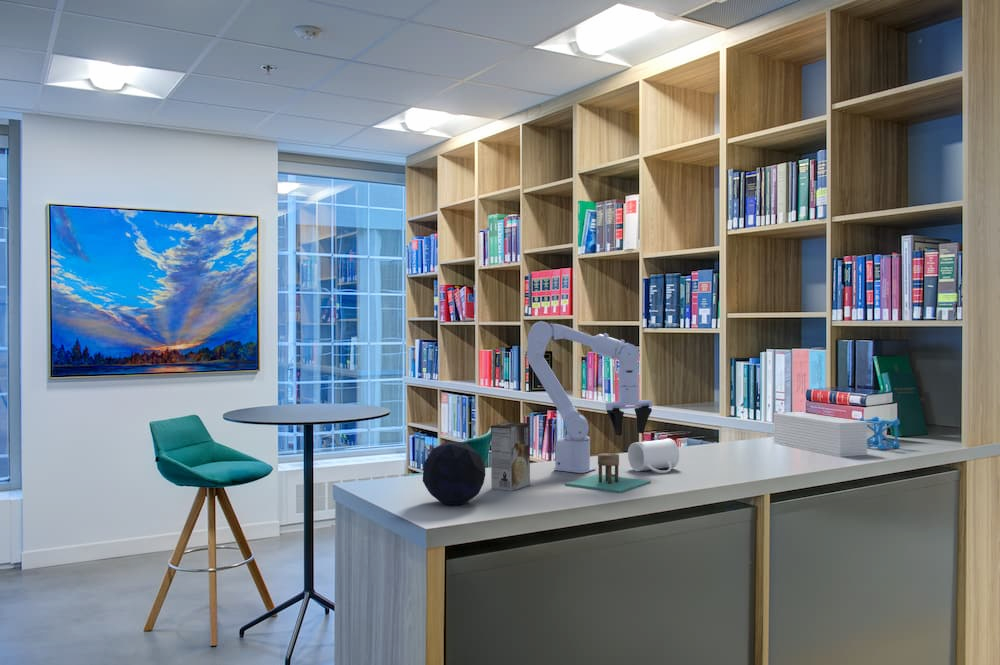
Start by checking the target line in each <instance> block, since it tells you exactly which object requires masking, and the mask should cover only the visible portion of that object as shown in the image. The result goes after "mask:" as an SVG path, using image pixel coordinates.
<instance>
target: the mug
mask: <svg viewBox="0 0 1000 665" xmlns="http://www.w3.org/2000/svg"><path fill="white" fill-rule="evenodd" d="M627 459H628V463H629V466H630V467H631V468H632V470H634V471H635V472H643V471H644V472H645V471H653V472H655V473H659V474H667V473H669V472H671V471H672V469H675V467H676V466H677V465H678V463H679V461H680V449H679V447H678V445H677V442H676V441H675V440H673V439H672V438H669V437H668V438H665V439H658V440H657V439H656V440H648V441H647V440H646V441H637V442H636V441H635V442H633V443H631V444H630V445H629V447H628V450H627ZM660 469H662V470H660ZM663 469H667V470H663Z"/></svg>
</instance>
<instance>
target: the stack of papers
mask: <svg viewBox="0 0 1000 665" xmlns="http://www.w3.org/2000/svg"><path fill="white" fill-rule="evenodd" d="M867 424H868V423H867V422H865V421H858V420H856V419H850V418H843V417H836V416H831V415H830V416H829V415H822V414H815V413H807V412H800V411H794V412H793V411H791V412H789V411H788V412H774V413H773V444H777V445H782V446H786V447H791V448H795V449H799V450H800V449H802V450H806V451H810V452H814V453H815V452H817V453H820V454H824V455H831V456H834V457H835V456H836V457H840V458H841V457H855V456H867V455H868V446H867V442H868V441H867V438H868V427H867Z"/></svg>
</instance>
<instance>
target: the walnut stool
mask: <svg viewBox="0 0 1000 665" xmlns="http://www.w3.org/2000/svg"><path fill="white" fill-rule="evenodd" d="M597 465H598V474H599V482H602V475H603V467H605V474H604V475H605V478H606V481H608V484H612V477H615V482H618V477H619V466H620V455H619V454H618V453H611V452H610V453H607V452H606V453H603V452H602V453H599V454H597ZM612 467H614V473H612V471H613V470H612Z"/></svg>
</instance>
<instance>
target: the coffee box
mask: <svg viewBox="0 0 1000 665" xmlns="http://www.w3.org/2000/svg"><path fill="white" fill-rule="evenodd" d="M530 449H531V448H530V422H519V421H518V422H515V421H507V422H503V423H498V424H492V425H490V456H491V457H490V460H491V461H490V465H491V466H490V468H491V469H490V470H491V472H490V474H491V489H493V490H501V491H508V492H509V491H510V492H513V491H516V490H518V489H521V488H524V487H527V486H529V485H531V472H530V471H531V469H530V468H531V461H530V460H531V458H530V456H531V454H530V453H531V452H530Z"/></svg>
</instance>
